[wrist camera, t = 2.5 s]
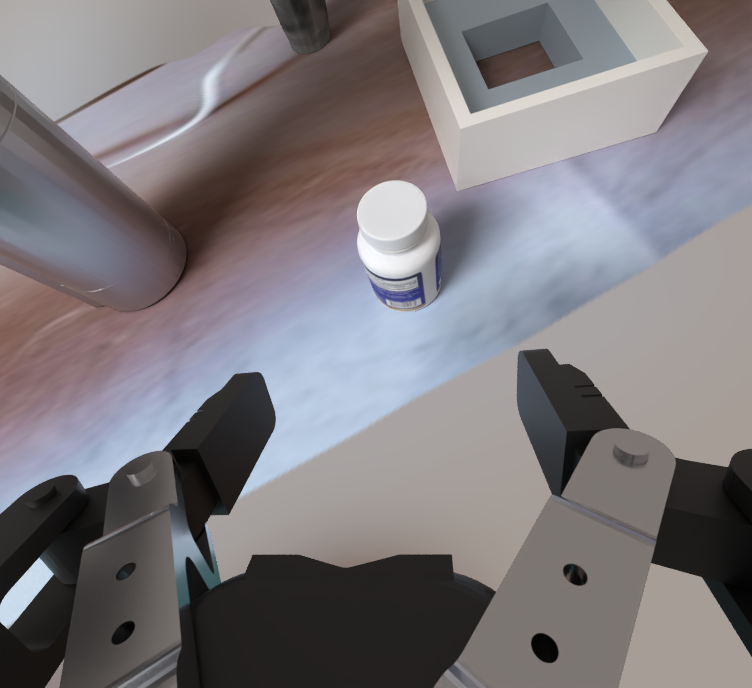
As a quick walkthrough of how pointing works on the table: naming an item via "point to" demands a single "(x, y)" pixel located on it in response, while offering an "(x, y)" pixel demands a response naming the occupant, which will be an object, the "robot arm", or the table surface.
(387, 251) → the pill bottle
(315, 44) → the beverage cup
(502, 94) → the bore box
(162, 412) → the table surface
